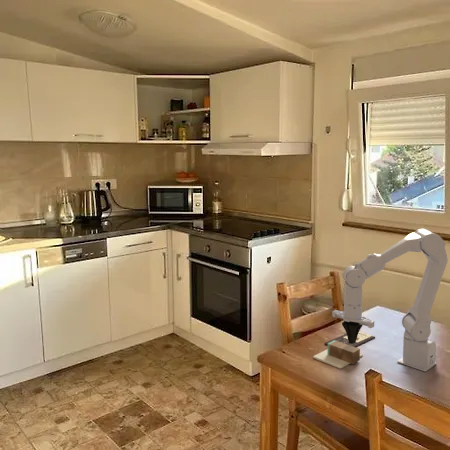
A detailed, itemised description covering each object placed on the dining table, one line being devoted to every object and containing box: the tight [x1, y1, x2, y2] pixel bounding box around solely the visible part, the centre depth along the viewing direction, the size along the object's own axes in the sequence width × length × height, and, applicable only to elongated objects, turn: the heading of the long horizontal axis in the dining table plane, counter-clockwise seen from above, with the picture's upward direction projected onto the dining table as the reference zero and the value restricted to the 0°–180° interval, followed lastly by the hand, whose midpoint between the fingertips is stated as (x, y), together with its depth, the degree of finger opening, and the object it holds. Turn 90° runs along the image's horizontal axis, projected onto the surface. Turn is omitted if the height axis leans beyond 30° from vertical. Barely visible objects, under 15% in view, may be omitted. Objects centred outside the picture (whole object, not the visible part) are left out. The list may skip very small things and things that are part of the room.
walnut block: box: [326, 340, 361, 365], centre depth 153 cm, size 4×4×10 cm
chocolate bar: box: [324, 330, 376, 348], centre depth 168 cm, size 9×1×18 cm
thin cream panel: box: [312, 348, 364, 370], centre depth 155 cm, size 11×13×1 cm
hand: (352, 342), depth 150 cm, fingers closed
